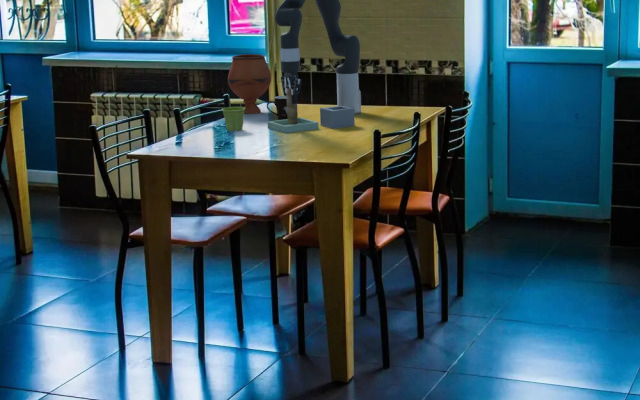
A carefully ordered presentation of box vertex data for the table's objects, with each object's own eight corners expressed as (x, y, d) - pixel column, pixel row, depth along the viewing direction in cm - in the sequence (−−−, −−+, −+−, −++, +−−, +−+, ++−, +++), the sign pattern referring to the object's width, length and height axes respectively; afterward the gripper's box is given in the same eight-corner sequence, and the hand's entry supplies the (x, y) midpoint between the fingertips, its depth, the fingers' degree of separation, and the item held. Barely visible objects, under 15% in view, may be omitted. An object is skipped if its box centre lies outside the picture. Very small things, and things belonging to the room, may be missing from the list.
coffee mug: (297, 119, 435) (296, 95, 433) (295, 122, 427) (294, 98, 425) (270, 119, 437) (268, 95, 434) (267, 123, 428) (265, 98, 426)
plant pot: (242, 132, 409) (241, 110, 407) (219, 132, 411) (218, 110, 409) (249, 128, 418) (248, 106, 416) (226, 128, 420) (225, 106, 418)
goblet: (243, 117, 445) (240, 59, 439) (221, 112, 460) (218, 56, 454) (281, 112, 455) (278, 55, 449) (259, 107, 470) (256, 52, 464)
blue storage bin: (341, 122, 423) (341, 105, 421) (354, 125, 414) (354, 108, 413) (320, 125, 418) (319, 108, 416) (332, 128, 410) (332, 111, 408)
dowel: (294, 122, 416) (293, 87, 412) (299, 123, 412) (298, 88, 409) (286, 123, 414) (284, 88, 410) (290, 124, 410) (289, 89, 407)
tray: (300, 123, 423) (300, 117, 423) (318, 128, 410) (318, 122, 410) (267, 128, 416) (267, 121, 416) (285, 133, 403) (284, 126, 403)
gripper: (307, 60, 403) (308, 104, 407) (290, 57, 415) (292, 100, 419) (290, 61, 399) (292, 106, 403) (273, 59, 411) (275, 102, 415)
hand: (292, 103), depth 411 cm, fingers closed on dowel, 3 cm apart
